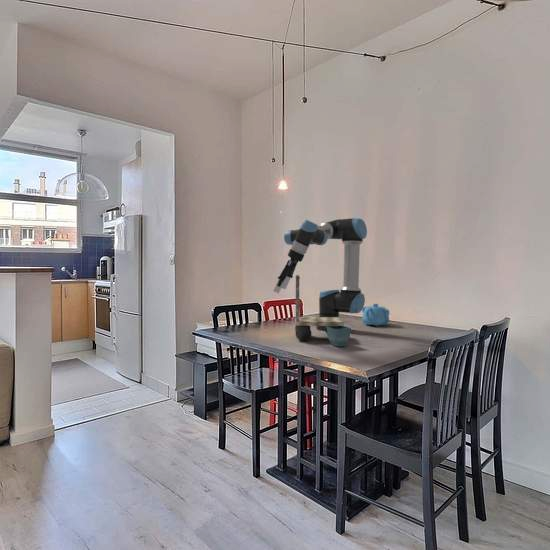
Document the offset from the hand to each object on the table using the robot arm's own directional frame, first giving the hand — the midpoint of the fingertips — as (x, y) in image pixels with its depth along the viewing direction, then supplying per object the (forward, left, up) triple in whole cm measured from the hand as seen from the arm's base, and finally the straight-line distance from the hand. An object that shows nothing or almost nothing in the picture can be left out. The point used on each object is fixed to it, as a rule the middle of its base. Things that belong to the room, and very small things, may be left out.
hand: (279, 290), depth 196 cm
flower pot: (-25, +15, -26) cm, 39 cm away
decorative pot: (-75, -33, -26) cm, 86 cm away
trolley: (-23, -4, -26) cm, 35 cm away
